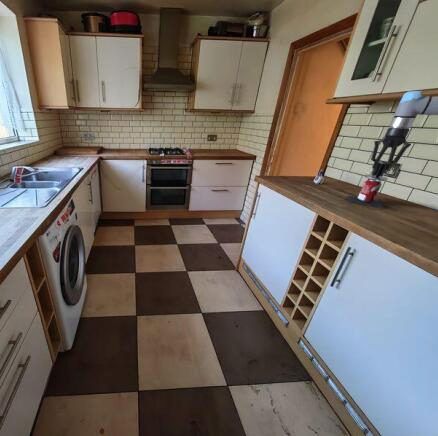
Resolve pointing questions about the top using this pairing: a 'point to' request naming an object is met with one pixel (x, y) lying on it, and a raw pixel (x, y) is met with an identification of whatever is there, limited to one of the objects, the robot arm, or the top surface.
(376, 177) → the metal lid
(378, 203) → the slate mat
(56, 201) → the top surface
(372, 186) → the soda can
